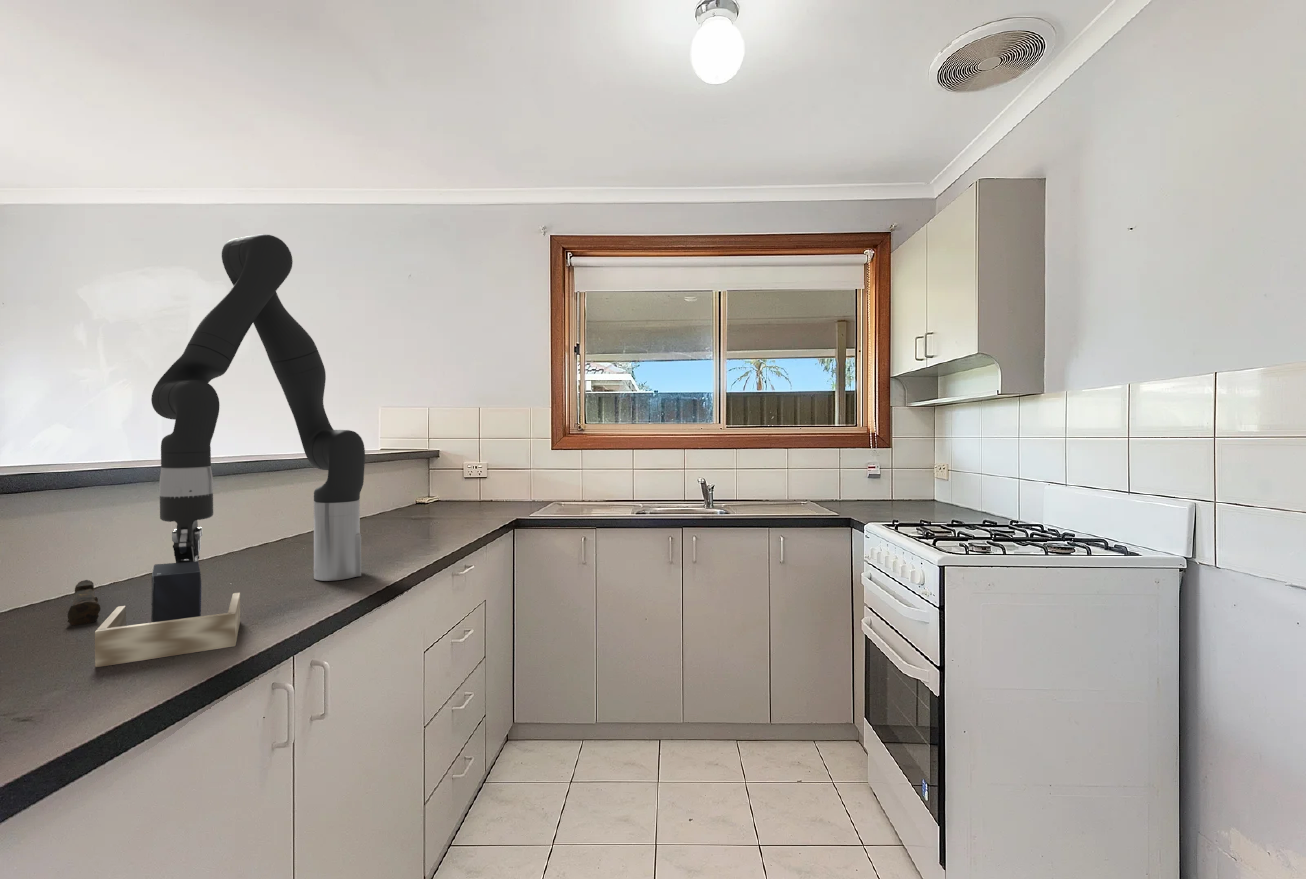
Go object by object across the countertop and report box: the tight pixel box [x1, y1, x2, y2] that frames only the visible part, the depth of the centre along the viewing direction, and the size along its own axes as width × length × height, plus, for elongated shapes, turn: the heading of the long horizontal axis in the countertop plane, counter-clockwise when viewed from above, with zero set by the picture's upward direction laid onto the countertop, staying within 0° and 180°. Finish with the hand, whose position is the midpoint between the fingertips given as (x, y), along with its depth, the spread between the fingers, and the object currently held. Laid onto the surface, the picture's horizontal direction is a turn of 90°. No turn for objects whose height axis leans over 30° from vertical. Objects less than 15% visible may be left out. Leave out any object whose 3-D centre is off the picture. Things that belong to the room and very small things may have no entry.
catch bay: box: [94, 592, 241, 668], centre depth 93 cm, size 16×14×5 cm
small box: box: [150, 560, 202, 623], centre depth 99 cm, size 11×6×10 cm, turn 39°
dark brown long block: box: [67, 579, 101, 626], centre depth 109 cm, size 19×4×5 cm, turn 41°
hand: (188, 588), depth 107 cm, fingers closed
